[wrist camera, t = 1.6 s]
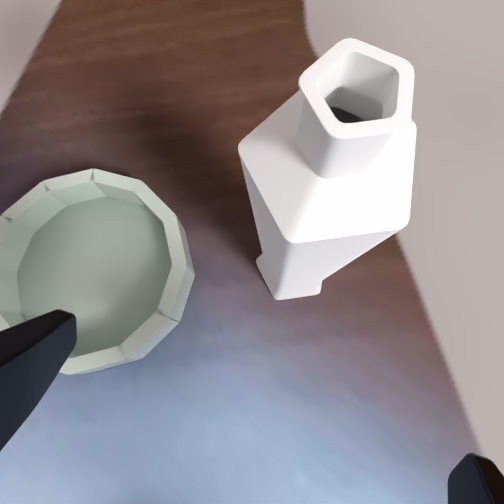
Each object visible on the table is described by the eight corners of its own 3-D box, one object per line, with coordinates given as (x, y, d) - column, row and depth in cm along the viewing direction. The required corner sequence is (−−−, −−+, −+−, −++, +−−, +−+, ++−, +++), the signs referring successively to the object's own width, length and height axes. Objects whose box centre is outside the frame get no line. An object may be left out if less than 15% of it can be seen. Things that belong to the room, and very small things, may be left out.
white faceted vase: (234, 285, 21) (185, 140, 7) (271, 218, 22) (295, -34, 8) (311, 325, 21) (429, 256, 6) (345, 254, 22) (517, 53, 7)
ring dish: (157, 392, 20) (143, 397, 18) (-20, 339, 21) (-56, 337, 19) (214, 214, 23) (208, 197, 20) (53, 173, 23) (29, 152, 21)
